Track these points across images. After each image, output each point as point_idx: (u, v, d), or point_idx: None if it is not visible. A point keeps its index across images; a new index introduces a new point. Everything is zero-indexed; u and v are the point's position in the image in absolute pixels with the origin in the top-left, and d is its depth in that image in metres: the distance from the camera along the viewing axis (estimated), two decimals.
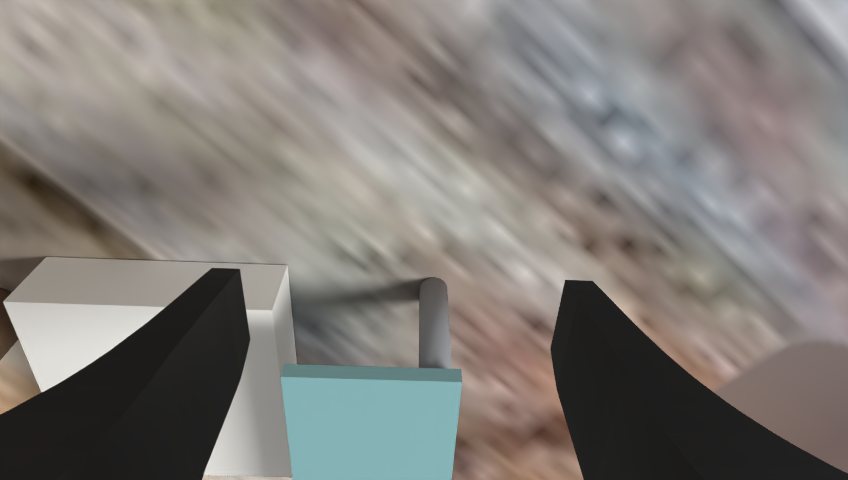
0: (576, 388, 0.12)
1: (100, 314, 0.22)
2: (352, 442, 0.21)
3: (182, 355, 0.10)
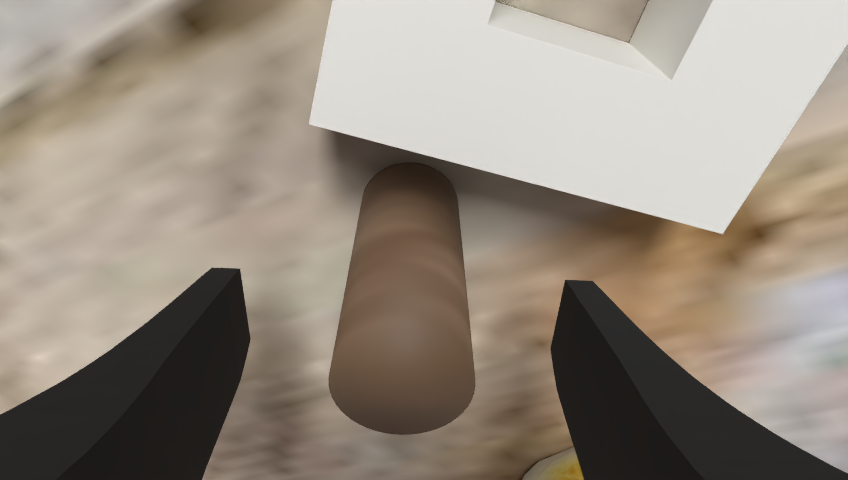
0: (576, 388, 0.12)
1: None
2: None
3: (182, 355, 0.10)
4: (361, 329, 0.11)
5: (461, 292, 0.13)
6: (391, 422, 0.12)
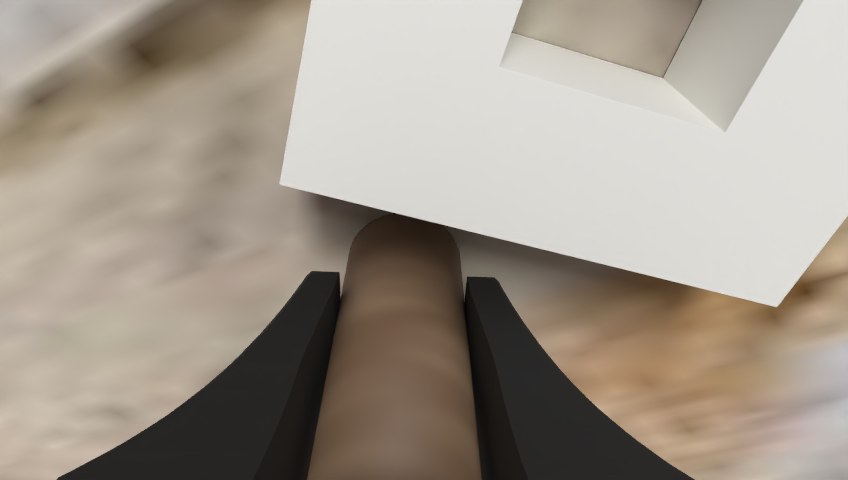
0: None
1: None
2: None
3: (308, 359, 0.10)
4: (342, 458, 0.09)
5: (466, 390, 0.10)
6: None
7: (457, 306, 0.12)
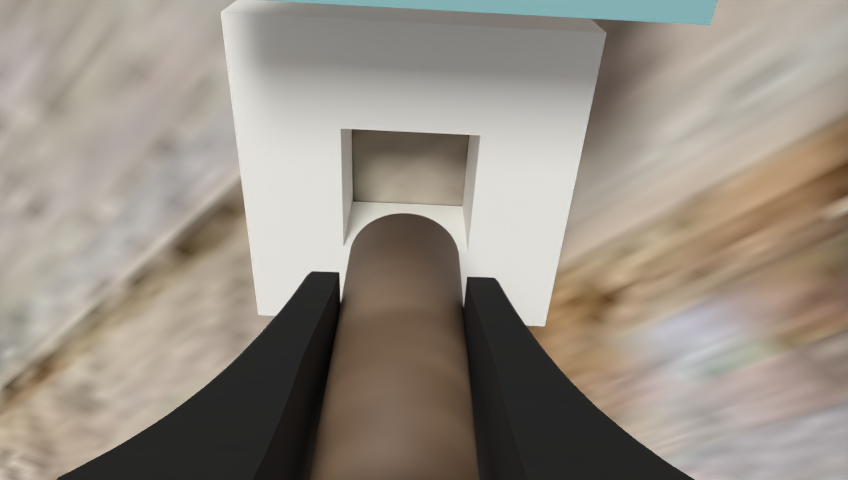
0: (471, 385, 0.12)
1: (262, 229, 0.19)
2: None
3: (308, 359, 0.10)
4: (347, 455, 0.09)
5: (466, 391, 0.11)
6: None
7: (457, 307, 0.12)
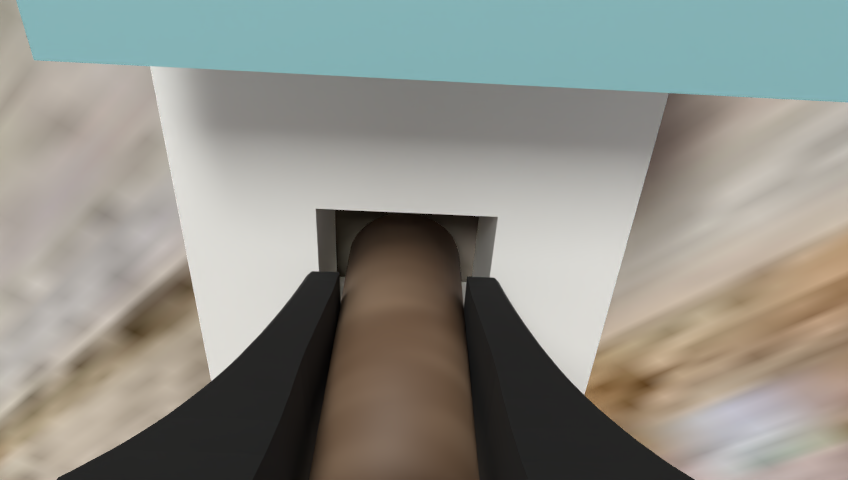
0: (471, 385, 0.12)
1: (219, 327, 0.15)
2: None
3: (308, 359, 0.10)
4: (346, 455, 0.09)
5: (466, 391, 0.11)
6: None
7: (457, 307, 0.12)
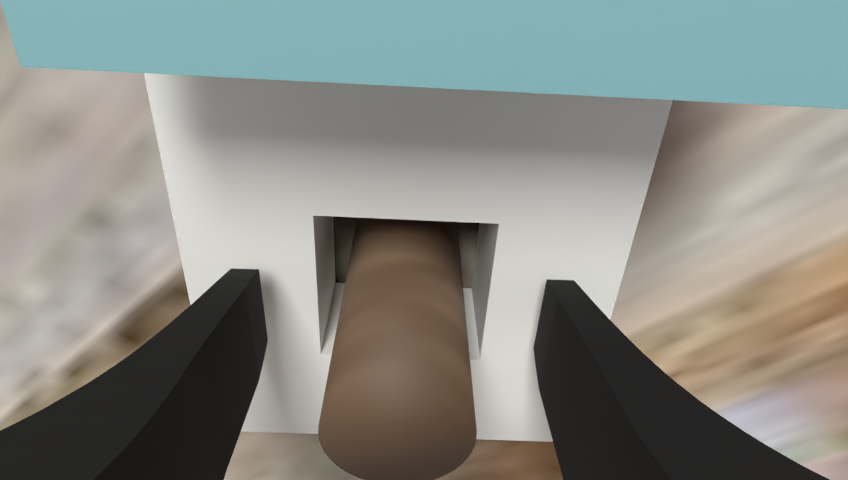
0: (556, 387, 0.12)
1: None
2: None
3: (206, 356, 0.10)
4: (357, 375, 0.10)
5: (462, 332, 0.12)
6: (383, 473, 0.11)
7: (455, 265, 0.14)
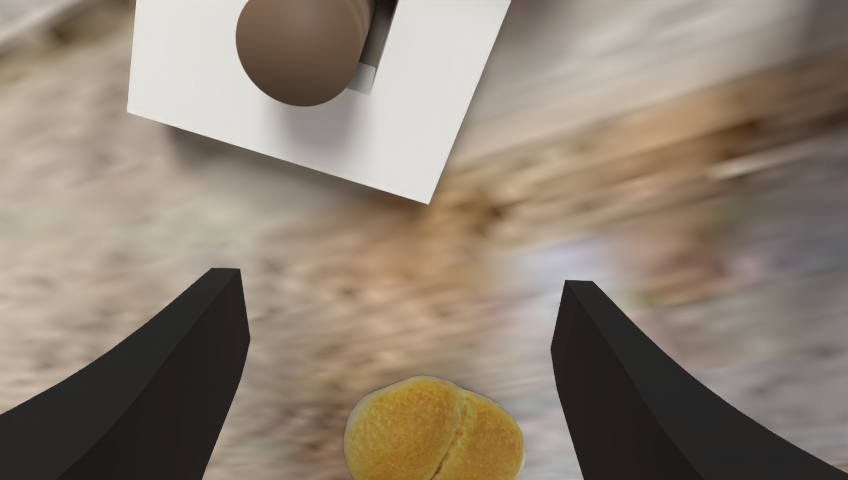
0: (576, 388, 0.12)
1: (153, 5, 0.17)
2: None
3: (182, 355, 0.10)
4: None
5: (364, 17, 0.15)
6: (278, 87, 0.14)
7: None
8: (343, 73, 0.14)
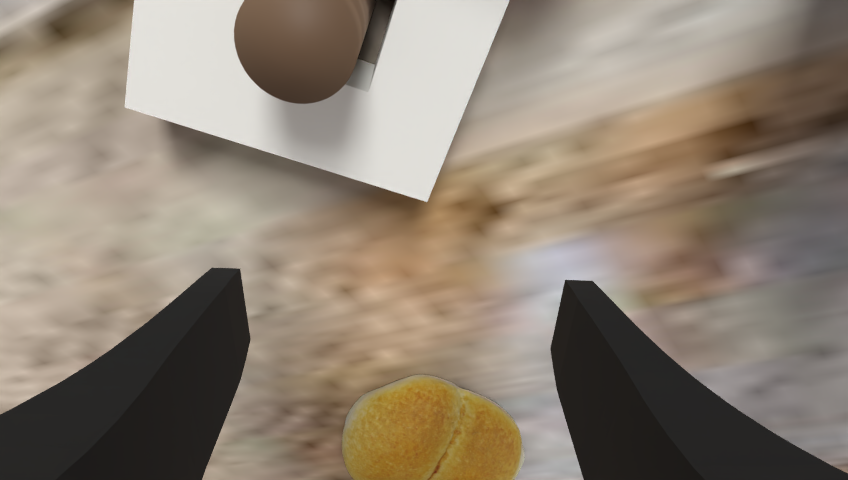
0: (576, 388, 0.12)
1: (151, 0, 0.17)
2: None
3: (182, 355, 0.10)
4: None
5: (363, 13, 0.15)
6: (276, 84, 0.14)
7: None
8: (342, 70, 0.14)
